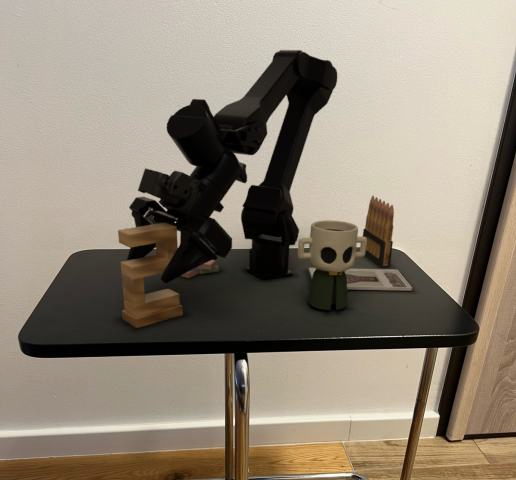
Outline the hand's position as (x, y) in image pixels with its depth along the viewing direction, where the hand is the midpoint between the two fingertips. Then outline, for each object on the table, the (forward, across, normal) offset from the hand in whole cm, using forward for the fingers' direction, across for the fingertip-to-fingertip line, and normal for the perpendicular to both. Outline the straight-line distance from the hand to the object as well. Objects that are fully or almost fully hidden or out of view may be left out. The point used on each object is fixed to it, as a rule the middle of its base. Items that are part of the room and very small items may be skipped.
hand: (145, 272), depth 77 cm
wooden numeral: (+4, 0, +6) cm, 7 cm away
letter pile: (-8, -14, +18) cm, 25 cm away
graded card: (-23, +8, +33) cm, 41 cm away
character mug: (-13, +13, +23) cm, 29 cm away
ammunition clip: (-32, +2, +42) cm, 53 cm away
